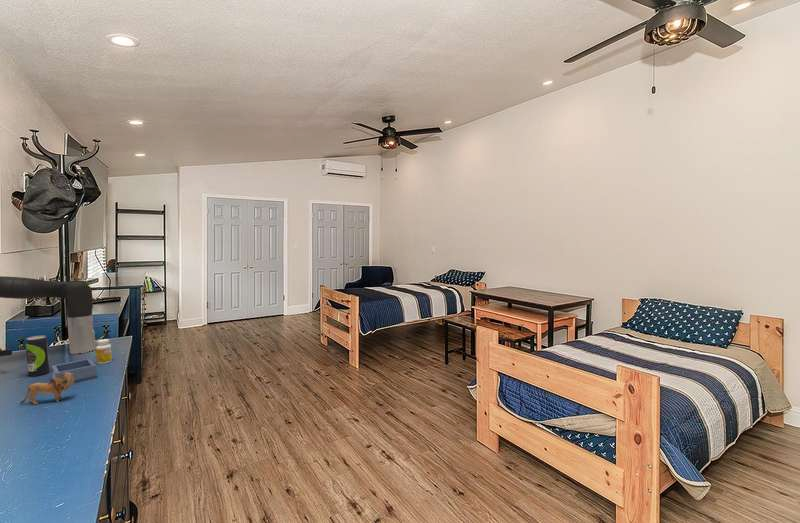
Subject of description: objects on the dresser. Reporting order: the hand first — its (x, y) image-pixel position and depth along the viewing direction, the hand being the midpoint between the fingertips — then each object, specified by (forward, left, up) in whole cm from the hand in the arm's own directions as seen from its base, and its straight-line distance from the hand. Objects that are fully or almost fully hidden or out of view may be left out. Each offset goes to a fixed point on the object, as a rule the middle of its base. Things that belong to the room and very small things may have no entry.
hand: (4, 355), depth 153 cm
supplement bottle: (-30, +7, -9) cm, 32 cm away
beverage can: (-9, +5, -9) cm, 14 cm away
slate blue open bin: (-18, +21, -9) cm, 29 cm away
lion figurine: (-9, +41, -9) cm, 43 cm away
